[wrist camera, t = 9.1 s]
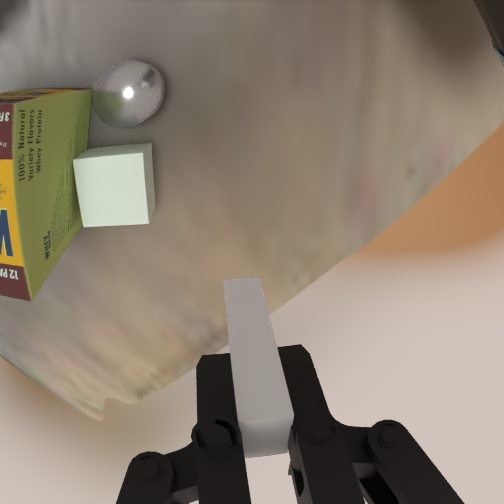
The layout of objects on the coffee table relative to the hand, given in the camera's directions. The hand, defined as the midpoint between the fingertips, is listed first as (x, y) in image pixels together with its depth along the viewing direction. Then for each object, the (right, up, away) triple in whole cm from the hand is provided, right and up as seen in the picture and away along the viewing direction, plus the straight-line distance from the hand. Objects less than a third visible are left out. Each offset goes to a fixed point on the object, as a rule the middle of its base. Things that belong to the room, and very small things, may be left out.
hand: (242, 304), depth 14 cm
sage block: (-14, +10, +18) cm, 25 cm away
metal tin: (-11, +18, +14) cm, 26 cm away
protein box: (-22, +13, +16) cm, 30 cm away
